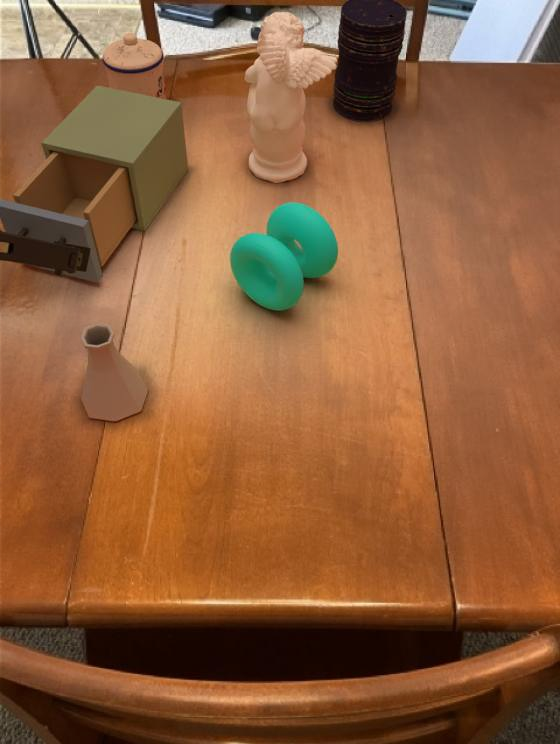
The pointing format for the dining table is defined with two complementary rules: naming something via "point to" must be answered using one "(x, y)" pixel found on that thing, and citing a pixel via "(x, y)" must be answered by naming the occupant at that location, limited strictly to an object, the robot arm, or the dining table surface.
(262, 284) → the green rounded spool
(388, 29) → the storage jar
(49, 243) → the robot arm
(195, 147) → the dining table surface
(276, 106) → the cherub figurine
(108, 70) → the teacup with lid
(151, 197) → the cabinet
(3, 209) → the drawer
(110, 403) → the flask
